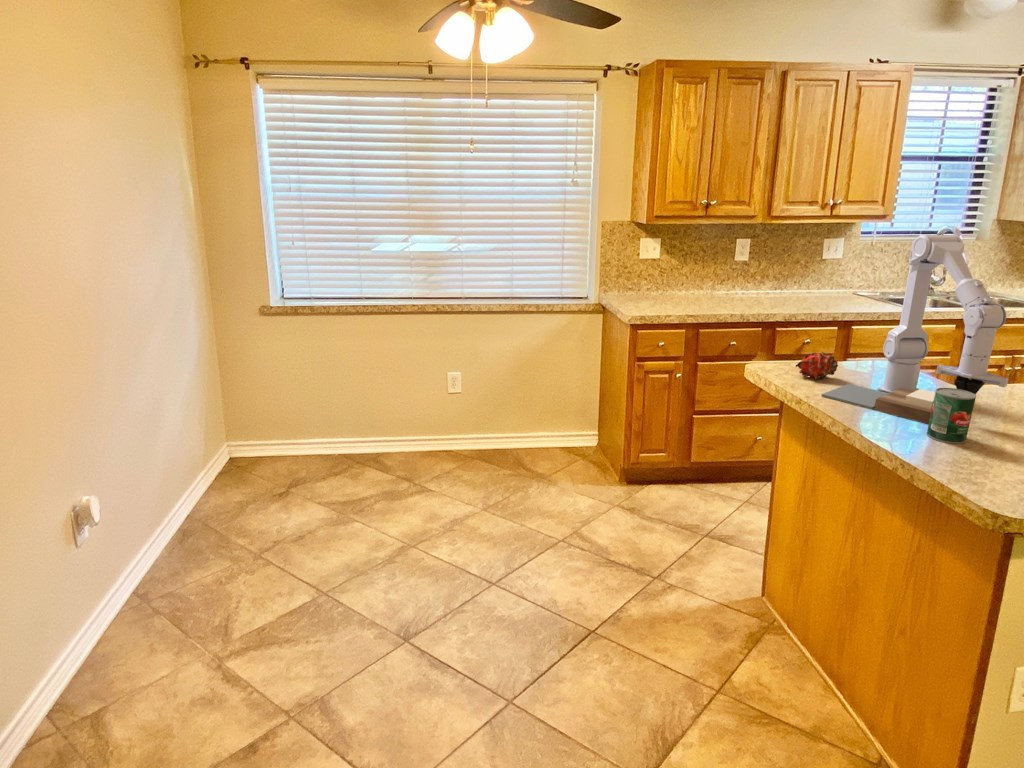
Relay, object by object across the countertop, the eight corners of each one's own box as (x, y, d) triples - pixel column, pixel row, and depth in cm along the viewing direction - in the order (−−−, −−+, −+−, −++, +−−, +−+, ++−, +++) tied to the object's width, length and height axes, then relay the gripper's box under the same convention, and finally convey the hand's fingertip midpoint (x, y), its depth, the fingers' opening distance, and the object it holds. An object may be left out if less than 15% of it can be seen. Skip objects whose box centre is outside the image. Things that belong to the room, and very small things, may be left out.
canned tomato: (929, 428, 162) (938, 385, 158) (968, 436, 157) (978, 392, 154) (923, 438, 156) (933, 393, 153) (963, 446, 151) (974, 400, 148)
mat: (848, 385, 194) (848, 383, 194) (897, 397, 185) (898, 395, 184) (821, 396, 185) (821, 394, 184) (871, 409, 175) (872, 407, 175)
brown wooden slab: (899, 397, 184) (901, 387, 183) (956, 411, 174) (959, 400, 173) (873, 409, 174) (876, 398, 173) (933, 425, 164) (935, 413, 163)
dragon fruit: (839, 385, 200) (796, 387, 203) (833, 362, 205) (791, 365, 208) (843, 367, 194) (799, 370, 196) (837, 344, 199) (794, 348, 202)
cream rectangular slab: (918, 396, 176) (920, 389, 176) (944, 402, 172) (945, 394, 171) (904, 403, 171) (906, 395, 170) (930, 409, 166) (932, 401, 166)
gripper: (936, 350, 163) (925, 403, 167) (1006, 363, 153) (992, 419, 157) (947, 346, 168) (936, 397, 172) (1016, 358, 157) (1002, 413, 161)
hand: (963, 407), depth 165 cm, fingers closed
